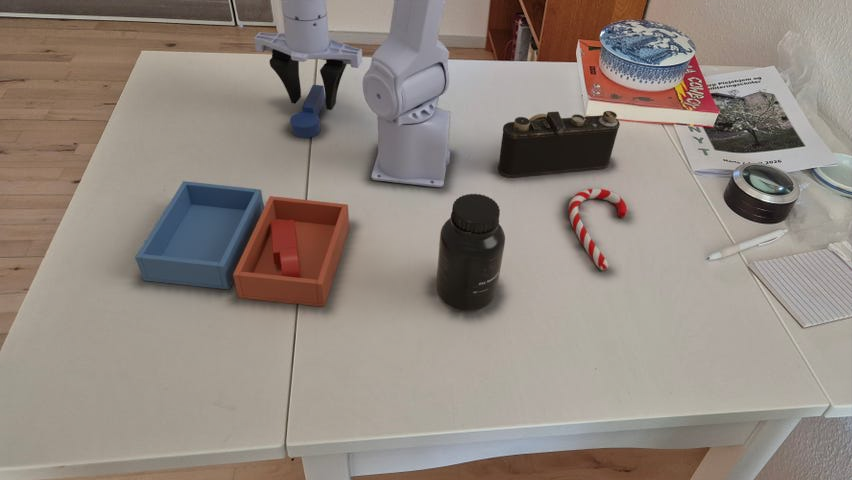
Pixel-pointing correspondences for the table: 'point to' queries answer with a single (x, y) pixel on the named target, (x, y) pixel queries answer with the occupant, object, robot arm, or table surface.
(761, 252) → the table surface
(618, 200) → the candy cane
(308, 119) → the blue spoon
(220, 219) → the blue bin
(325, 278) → the red bin
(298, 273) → the red spoon
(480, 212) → the supplement bottle
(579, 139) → the camera
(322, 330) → the table surface
